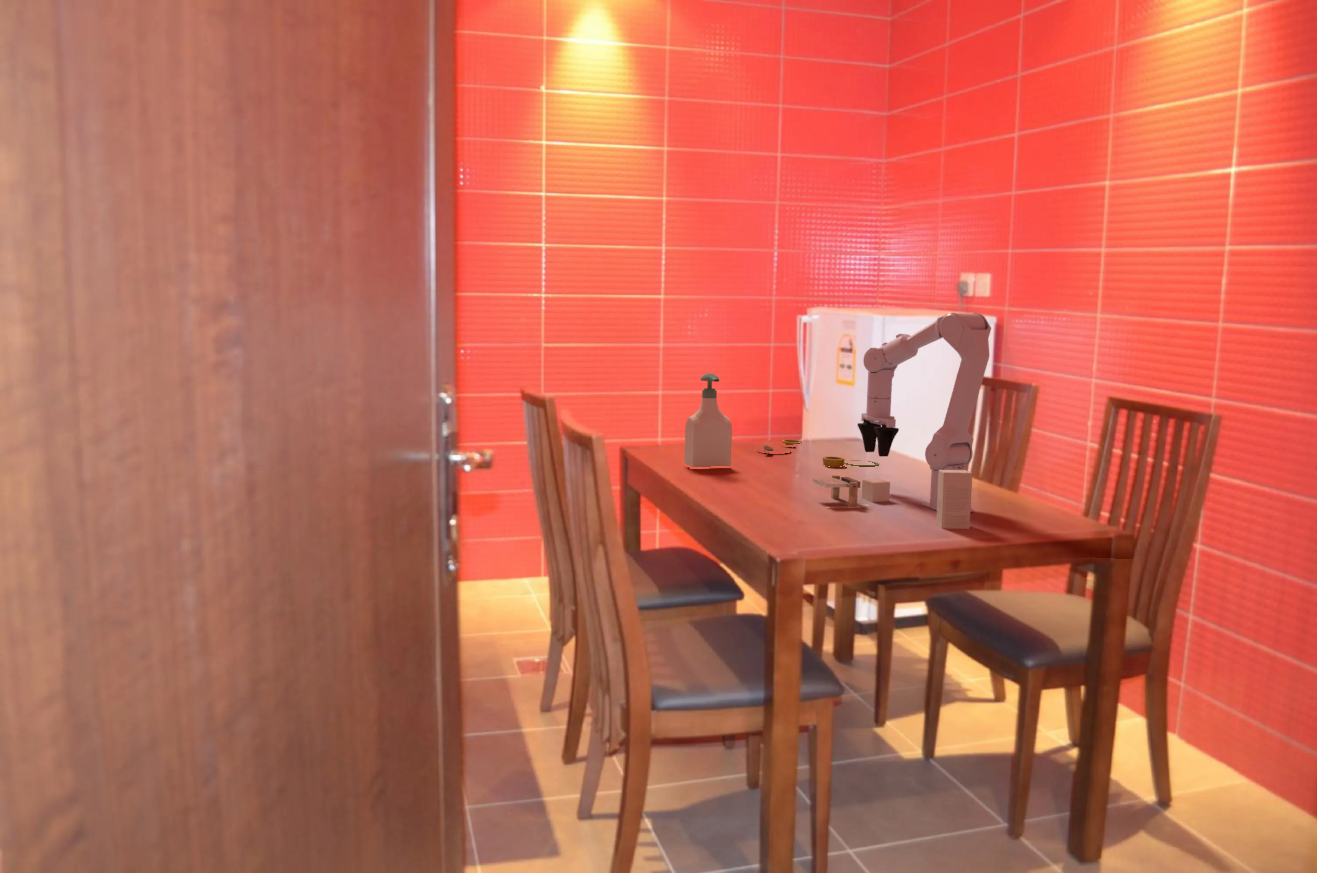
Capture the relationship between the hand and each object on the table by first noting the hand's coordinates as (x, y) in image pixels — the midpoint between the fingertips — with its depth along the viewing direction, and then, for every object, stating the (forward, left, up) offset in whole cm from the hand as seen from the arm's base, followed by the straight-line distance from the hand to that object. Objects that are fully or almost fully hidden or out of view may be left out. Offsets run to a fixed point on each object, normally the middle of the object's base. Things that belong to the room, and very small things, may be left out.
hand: (876, 454), depth 255 cm
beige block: (-9, +4, -10) cm, 14 cm away
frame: (-11, +13, -10) cm, 20 cm away
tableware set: (+51, -4, -11) cm, 52 cm away
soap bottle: (+37, +31, -11) cm, 49 cm away
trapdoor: (-11, +13, -5) cm, 18 cm away
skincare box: (-37, 0, -11) cm, 38 cm away
